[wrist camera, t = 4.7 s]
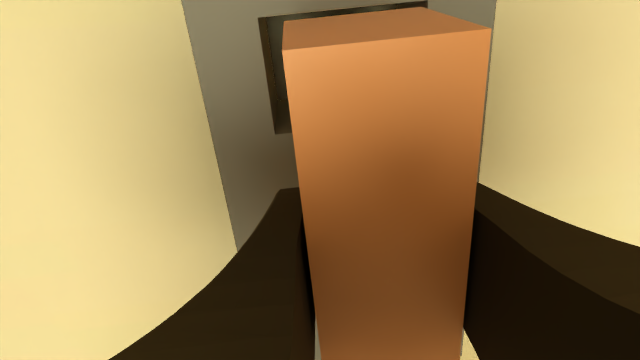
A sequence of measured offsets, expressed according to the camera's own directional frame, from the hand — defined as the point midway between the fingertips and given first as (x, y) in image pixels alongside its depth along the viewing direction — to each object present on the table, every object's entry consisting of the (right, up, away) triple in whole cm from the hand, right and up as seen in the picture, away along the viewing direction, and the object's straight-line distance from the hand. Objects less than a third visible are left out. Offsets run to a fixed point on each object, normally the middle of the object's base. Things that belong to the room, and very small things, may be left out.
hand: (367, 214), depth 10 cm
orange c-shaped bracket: (0, +2, +3) cm, 4 cm away
